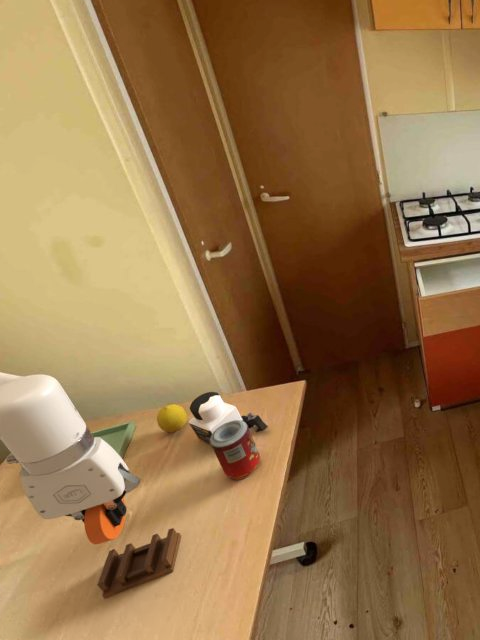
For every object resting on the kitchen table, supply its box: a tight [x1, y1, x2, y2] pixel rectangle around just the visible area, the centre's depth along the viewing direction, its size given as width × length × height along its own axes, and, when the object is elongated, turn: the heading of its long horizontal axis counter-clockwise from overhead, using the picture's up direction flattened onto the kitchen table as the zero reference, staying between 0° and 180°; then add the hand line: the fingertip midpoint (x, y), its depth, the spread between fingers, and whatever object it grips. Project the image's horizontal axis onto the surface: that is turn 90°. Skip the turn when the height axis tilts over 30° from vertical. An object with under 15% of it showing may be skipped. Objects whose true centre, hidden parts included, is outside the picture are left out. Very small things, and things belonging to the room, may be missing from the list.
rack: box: [96, 527, 182, 599], centre depth 77 cm, size 10×7×4 cm
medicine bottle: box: [188, 391, 243, 446], centre depth 101 cm, size 7×7×12 cm
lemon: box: [156, 403, 188, 433], centre depth 103 cm, size 6×6×8 cm
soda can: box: [209, 420, 261, 480], centre depth 93 cm, size 7×7×12 cm
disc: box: [83, 497, 126, 545], centre depth 71 cm, size 2×8×8 cm, turn 25°
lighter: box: [240, 412, 269, 433], centre depth 104 cm, size 8×2×5 cm
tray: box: [91, 420, 136, 460], centre depth 98 cm, size 14×11×2 cm
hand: (110, 520), depth 72 cm, fingers closed on disc, 2 cm apart
